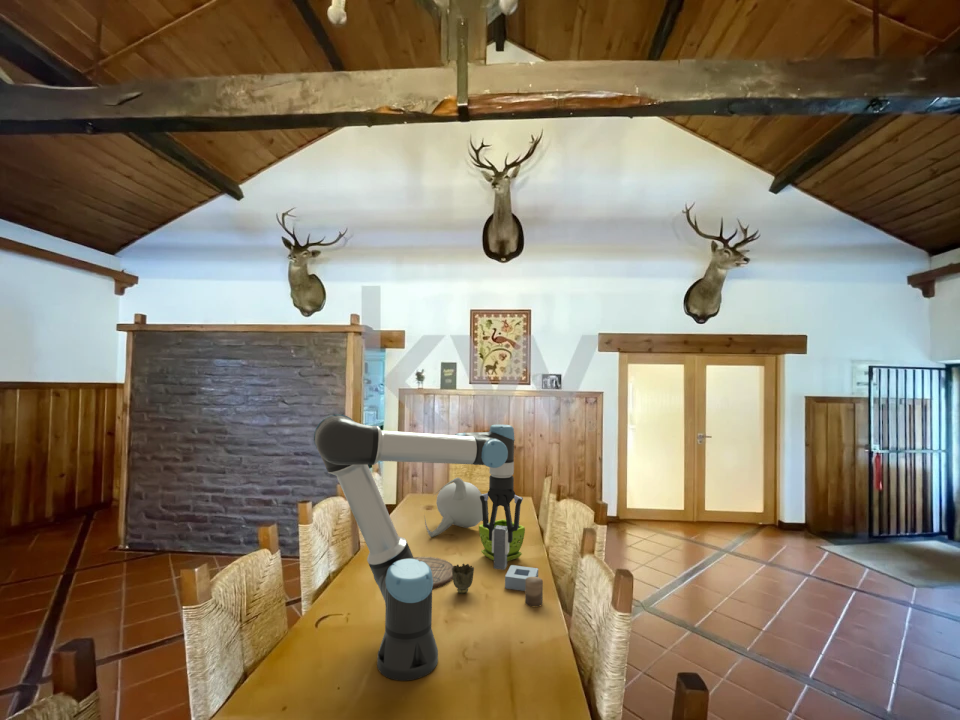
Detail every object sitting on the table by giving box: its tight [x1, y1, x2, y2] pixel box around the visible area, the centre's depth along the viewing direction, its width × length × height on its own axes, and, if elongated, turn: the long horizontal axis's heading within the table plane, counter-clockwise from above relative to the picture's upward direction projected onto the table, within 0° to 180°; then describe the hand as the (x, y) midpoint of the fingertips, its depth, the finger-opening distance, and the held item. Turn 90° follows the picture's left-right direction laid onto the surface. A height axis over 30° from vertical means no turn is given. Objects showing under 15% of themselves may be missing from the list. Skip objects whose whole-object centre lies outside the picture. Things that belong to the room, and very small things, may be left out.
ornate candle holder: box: [452, 563, 475, 595], centre depth 155 cm, size 8×7×8 cm
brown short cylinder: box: [524, 576, 544, 607], centre depth 148 cm, size 6×6×7 cm
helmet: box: [423, 477, 489, 538], centre depth 215 cm, size 24×29×35 cm
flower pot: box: [478, 518, 526, 562], centre depth 185 cm, size 14×14×13 cm
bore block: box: [504, 564, 539, 592], centre depth 161 cm, size 10×10×4 cm
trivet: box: [413, 556, 454, 589], centre depth 168 cm, size 25×25×2 cm
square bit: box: [493, 525, 508, 571], centre depth 142 cm, size 3×3×12 cm
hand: (500, 551), depth 142 cm, fingers closed on square bit, 3 cm apart
